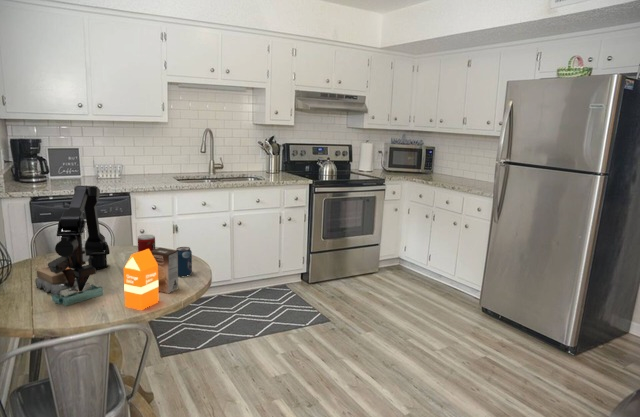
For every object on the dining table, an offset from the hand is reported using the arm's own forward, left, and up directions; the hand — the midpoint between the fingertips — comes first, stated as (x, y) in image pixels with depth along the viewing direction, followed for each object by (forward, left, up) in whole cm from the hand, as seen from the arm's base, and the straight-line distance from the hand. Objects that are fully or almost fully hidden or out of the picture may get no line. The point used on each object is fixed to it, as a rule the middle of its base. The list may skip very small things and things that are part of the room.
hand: (76, 288), depth 163 cm
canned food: (-45, -21, -3) cm, 50 cm away
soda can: (-41, +11, -3) cm, 42 cm away
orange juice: (-11, +25, -3) cm, 27 cm away
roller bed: (0, -7, -3) cm, 8 cm away
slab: (0, -14, +1) cm, 14 cm away
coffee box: (-25, +19, -3) cm, 31 cm away
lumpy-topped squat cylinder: (-27, -42, -3) cm, 50 cm away
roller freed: (0, 0, -3) cm, 3 cm away
